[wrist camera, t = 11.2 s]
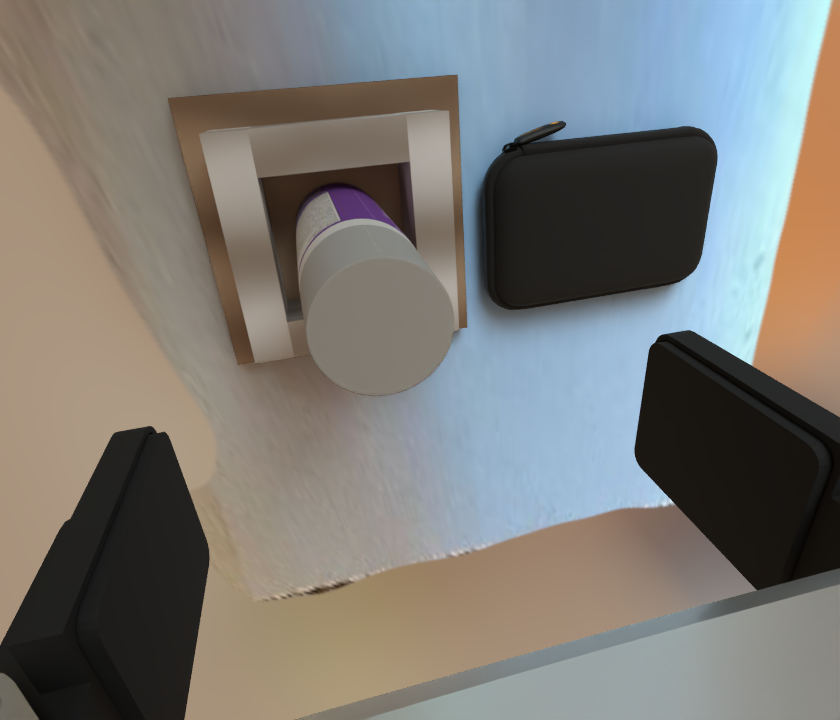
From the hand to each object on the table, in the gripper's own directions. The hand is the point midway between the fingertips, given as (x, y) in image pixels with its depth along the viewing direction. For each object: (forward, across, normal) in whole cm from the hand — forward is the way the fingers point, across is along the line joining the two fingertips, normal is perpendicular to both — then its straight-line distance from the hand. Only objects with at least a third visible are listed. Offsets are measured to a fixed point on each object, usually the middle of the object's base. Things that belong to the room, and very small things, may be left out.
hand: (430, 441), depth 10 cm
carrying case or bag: (+23, -16, +2) cm, 28 cm away
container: (+21, 0, 0) cm, 21 cm away
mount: (+22, 0, +1) cm, 22 cm away
